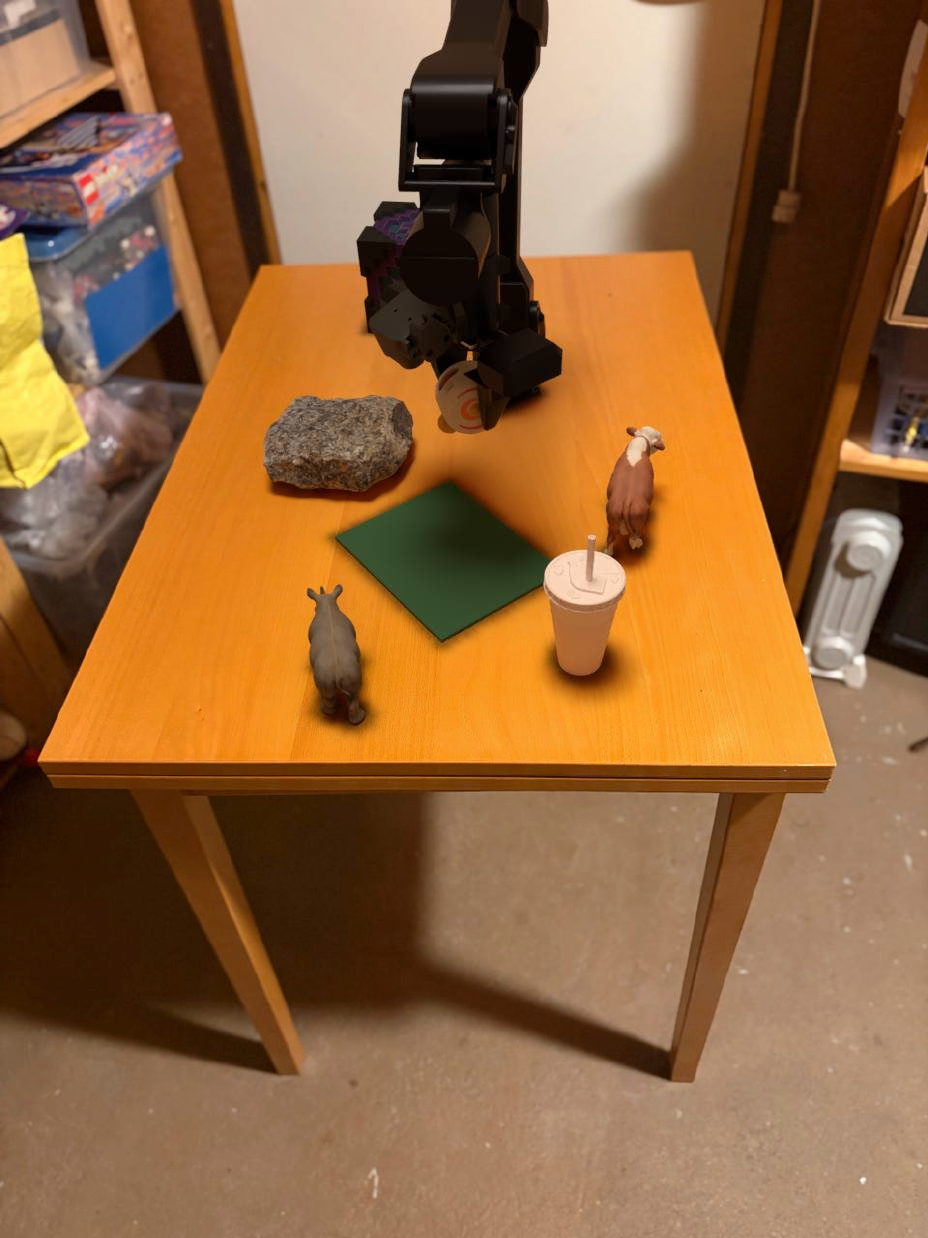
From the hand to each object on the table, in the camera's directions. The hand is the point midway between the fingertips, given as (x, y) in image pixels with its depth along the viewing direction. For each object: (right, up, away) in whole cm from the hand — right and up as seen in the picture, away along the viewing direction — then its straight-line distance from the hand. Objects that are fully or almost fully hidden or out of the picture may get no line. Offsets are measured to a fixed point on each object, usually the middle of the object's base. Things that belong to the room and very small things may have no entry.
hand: (470, 415), depth 85 cm
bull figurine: (+16, -9, +6) cm, 19 cm away
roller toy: (0, -1, +1) cm, 1 cm away
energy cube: (-6, +22, +38) cm, 44 cm away
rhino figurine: (-11, -23, -6) cm, 26 cm away
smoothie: (+9, -22, -6) cm, 25 cm away
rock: (-14, -2, +15) cm, 20 cm away
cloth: (-2, -13, +4) cm, 13 cm away
